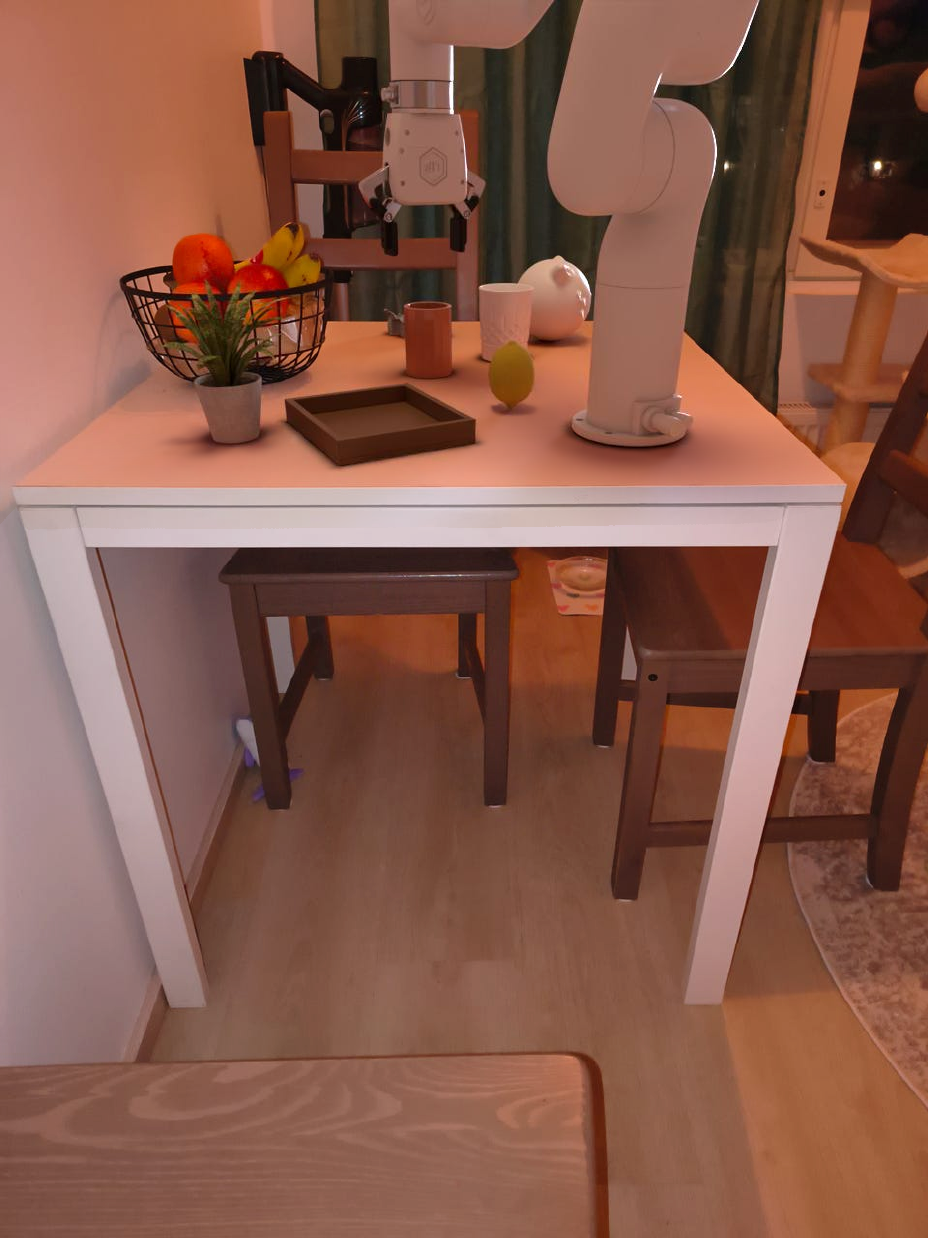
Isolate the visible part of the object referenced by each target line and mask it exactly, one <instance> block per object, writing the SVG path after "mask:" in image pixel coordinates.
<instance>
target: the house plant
mask: <svg viewBox="0 0 928 1238" xmlns="http://www.w3.org/2000/svg"><path fill="white" fill-rule="evenodd" d="M241 282H242V279H241V280H239V282H238V283H237V285H236V287H235V288H234V291H233V293H232V295H231V297H230V300H229V302H228V304H227V307H226V309H225V313H224V316H223V320H222V316H221V311H220V307H219V304H218V302H217V300H216V297H215V295H214V293H213V290H212V288H211V285H210V283H209V282H208V281H207V279H206V278H204V285H205V291H206V295H207V301H208V305H207V304H206V303H205V302H204V301H203V300H202V298H201V297H200V295H199V294H198V293H196V292H195V291H193V290H191V292H190V294H191V297H187V299H189V300H192V302H193V303H192V304H193V306H194V308H193V307H191V308H185V307H183V306H182V305H181V304H178V306H179V307H180V309H181V311H183V313H184V314H183V313H182V312H181V311H180V310H178V309H176V308H175V307H172V306H170V305H168V304H166V303H164V302H163V303H162V304H164V305H165V307H167V308H168V309H169V310H170V311H171V312H172V314H173V315H174V316H175V317H176V318H177V319H178V320H179V321H180V322H181V323H182V325H184V327H185V328H186V329H187V330H188V331H189V332H190V333H191V334H192V335H193V337H194V338H195V339H196V341H197V342H198V345H197V348H198V349H199V351H200V352H201V353H202V354H200V353H199V352H197V351H196V350H195V349H194V348H192V347H190V346H188V345H186V344H184V343H180V342H178V341H171V342H166V343H164V344H163V345H161V348H169V349H176V350H180V351H183V352H186V353H189V354H191V356H193V357H195V358H196V359H197V361H198V363H197V364H196V367H197V373H199V372H200V370H202V369H204V368H207V370H208V371H209V373H208V374H203V375H201V376H199V377H196V378H195V379H194V380H193V384H194V388H195V390H196V393H197V396H198V399H199V402H200V405H201V408H202V411H203V414H204V417H205V421H206V422H207V426H208V429H209V431H210V435H211V437H212V440H213V442H216V443H219V444H220V443H221V444H240V443H246V442H251V441H254V440H256V439H258V438H259V437H260V436H261V412H262V411H261V409H262V385H263V384H262V382H263V378H262V376H261V375H260V374H258V373H254V372H249V371H246V369H247V368H248V366H249V364H250V363H251V362H252V360H253V359H254V358H255V356H256V354H257V353H262V354H266V355H268V356H269V357H271V358H272V359H274V360H273V361H276V358H275V356H274V354H273V352H271V351H270V350H268V348H269V347H270V348H271V347H275V348H276V347H277V348H278V347H279V348H280V349H282V348H281V347H280V346H278V345H276V344H275V343H274V342H273V341H272V340H271V339H272V338H274V337H277V336H280V335H284V334H285V335H286V333H285V332H283V333H275V334H271V335H269V336H268V337H266V338H265V339H263V338H260V337H254V338H251V339H249V337H250V335H251V333H252V331H253V330H256V329H258V328H260V327H262V326H265V325H266V324H268V323H271V322H274V321H280V320H282V319H285V318H287V317H288V316H286V315H285V316H277V317H276V316H275V317H270V318H265V319H262V317H264V316H265V314H267V313H268V312H269V311H271V310H276V309H280V308H282V306H276V307H275V306H274V307H269V306H270V305H272V304H274V303H276V302H279V301H282V300H286V299H290V296H287V297H282V298H278V299H274V300H272V301H269V302H261V301H260V302H255V303H254V304H252V305H250V302H251V300H252V298H253V297H254V296H255V293H256V292H257V290H254V291H252V292H250V293H248V294H247V295H245V296H244V297H243V298H242V299H241V301H240V302H239V299H240V293H241V289H242V283H241ZM293 296H294V295H293ZM293 296H291V298H292V297H293ZM256 305H262V306H260V308H258V309H257V310H256V311H255V312H254V313H253V314H252V315H251V316H250V317H249V318H248V319H247V315H248V312H249V311H250V309H251V308H252V307H253V306H256ZM267 307H269V308H267ZM266 308H267V309H266ZM264 309H265V310H264ZM187 310H188V311H187ZM260 312H261V313H260ZM191 315H192V316H193V317H194V318H195V320H196V321H197V323H198V324H197V323H196V321H195V320H194V318H193V317H192V316H191ZM257 315H258V316H257ZM255 317H256V318H255ZM253 319H254V320H253ZM246 320H247V321H246ZM252 320H253V322H252ZM245 321H246V323H245V324H244V322H245ZM243 324H244V326H243ZM243 338H244V340H243V342H242V344H241V346H240V343H241V341H242V339H243ZM259 341H262V342H260V343H258V344H256V345H255V346H253V347H251V348H250V349H248V351H247V352H245V351H246V350H247V348H249V347H250V346H251V345H252V344H253V343H255V342H259ZM239 346H240V347H239ZM282 350H283V349H282ZM243 353H244V354H243Z"/></svg>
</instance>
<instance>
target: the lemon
mask: <svg viewBox="0 0 928 1238" xmlns="http://www.w3.org/2000/svg"><path fill="white" fill-rule="evenodd" d="M535 369H536V367H535V363H534V359H533V357H532V355H531V353H530V351H529V350H528V348H527V349H526V348H524V347H523V346H521V345H519V344H517V343H516V341H509V343H508V344H506V345H503V346H502V347H500V348H499V349H498V350H497V351H496V352H495V353H494V355H493V357H492V360H491V361H490V364H489V368H488V385H489V388H490V391H491V393H492V395H493V396H494V398H496V400H498V401H499V402H501V403H502V404H505V406H506V407H507V409H514V408H515V407H516V406H517V405H518V404H520V403H522V402H523V401H525V400H526V399H527V398H528V397H529V396H530V394H531V392H532V390H533V389H534V385H535V379H536V370H535Z"/></svg>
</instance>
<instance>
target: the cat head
mask: <svg viewBox="0 0 928 1238" xmlns="http://www.w3.org/2000/svg"><path fill="white" fill-rule="evenodd" d="M517 284H524V285H529V286H532V287H533V296H532V309H531V322H530V328H529V335H531V336H532V337H534V338H536V339H539V340H542V341H547V342H548V341H549V342H553V341H560V340H563V339H566V338H567V337H569V336H571V335H573V334H574V333H575V332H576V331H578V330H579V329H580V328H581V326H582V325H583V324H584V323H585V320H586V318H587V317H588V314H589V312H590V309H591V308H590V307H591V304H592V303H591V301H592V293H591V288H590V285H589V283H588V280H587V278H586V277H585V275H584V273H582V271H581V270H580V269H579V268H578V267H577V266H575V265H574V264H573V263H570V262H569V261H566V259H564V258H563V257H562V256H560V255H556V256H555V257H553V258H549V259H544V260H540V261H538V262H536V263H534V264H533V265H531V266H530V267H529V268H527V269H526V270H525V272H523V274H522V275H521V277H520V278H519V280H518V282H517Z"/></svg>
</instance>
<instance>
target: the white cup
mask: <svg viewBox="0 0 928 1238" xmlns="http://www.w3.org/2000/svg"><path fill="white" fill-rule="evenodd" d="M532 296H533V287H532V286H529V285H524V284H518V283H508V282H503V283H502V282H501V283H487V284H482V285H479V286H478V310H479V314H478V315H479V331H480V333H479V335H480V340H481V343H480V344H481V357H482V359H483V360H485V361H488V362H491V360H492V357H493V355H494V353H495V352H496V351H497V350H498V349H499V348H500V347H502V346H503V345H506V344H508V343H509V341H516V343H517V344H519V345H521V346H523V347H524V348H526V349H527V350H528V347H529V346H528V345H529V342H528V341H529V338H530V334H529V328H530V322H531V309H532Z"/></svg>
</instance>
